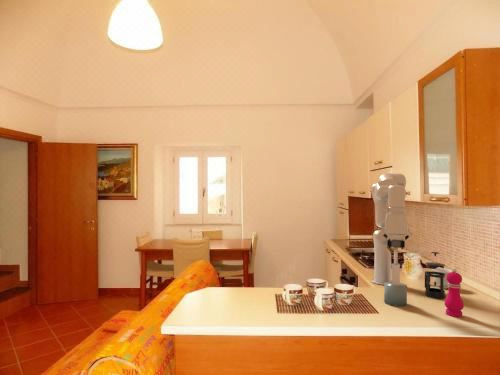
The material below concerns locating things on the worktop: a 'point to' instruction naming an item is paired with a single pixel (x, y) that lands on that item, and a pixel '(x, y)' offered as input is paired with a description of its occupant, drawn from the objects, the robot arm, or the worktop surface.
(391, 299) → the syrup pump bottle
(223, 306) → the worktop surface
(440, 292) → the french press
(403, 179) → the robot arm
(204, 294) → the worktop surface
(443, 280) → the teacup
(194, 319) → the worktop surface
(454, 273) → the pepper mill
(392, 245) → the pump head
